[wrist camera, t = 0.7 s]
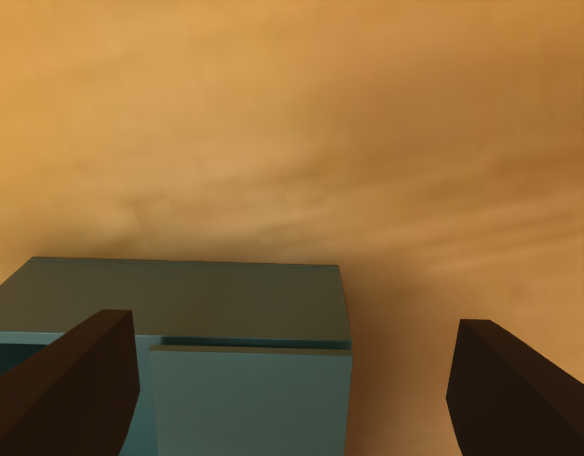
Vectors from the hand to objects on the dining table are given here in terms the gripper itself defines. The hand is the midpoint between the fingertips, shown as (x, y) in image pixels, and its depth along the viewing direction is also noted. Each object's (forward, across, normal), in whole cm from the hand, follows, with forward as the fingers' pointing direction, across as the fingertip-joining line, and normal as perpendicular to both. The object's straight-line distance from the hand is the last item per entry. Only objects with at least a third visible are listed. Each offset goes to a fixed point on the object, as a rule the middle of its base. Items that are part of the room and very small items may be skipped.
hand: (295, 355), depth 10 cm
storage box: (+10, +4, +10) cm, 15 cm away
